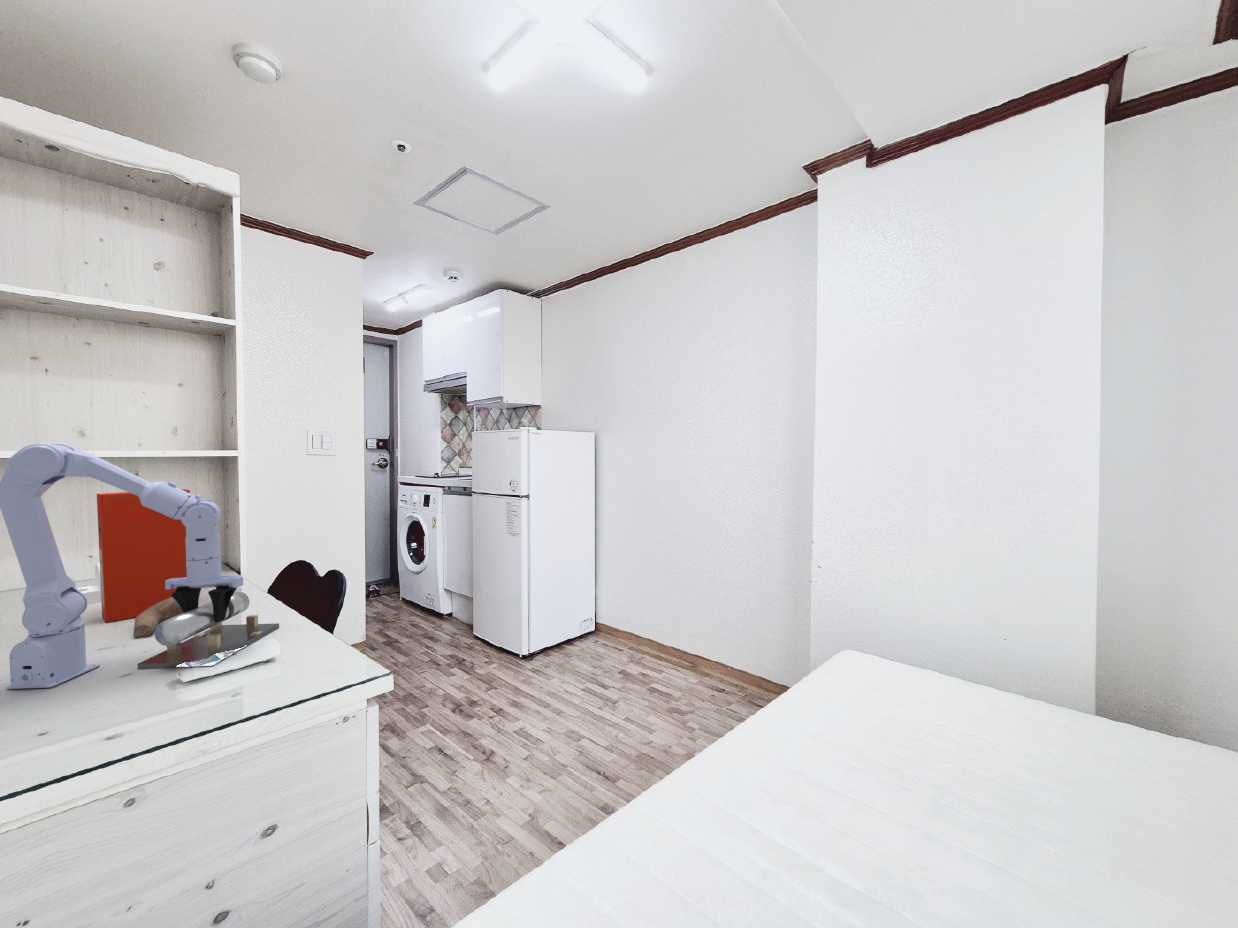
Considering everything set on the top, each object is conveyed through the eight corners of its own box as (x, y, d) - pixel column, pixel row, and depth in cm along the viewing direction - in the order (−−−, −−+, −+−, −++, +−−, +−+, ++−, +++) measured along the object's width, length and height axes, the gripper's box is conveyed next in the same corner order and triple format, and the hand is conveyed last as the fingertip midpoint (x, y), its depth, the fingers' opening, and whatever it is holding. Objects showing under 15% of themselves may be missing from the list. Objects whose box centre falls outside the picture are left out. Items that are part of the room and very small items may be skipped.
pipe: (125, 621, 115) (183, 605, 122) (133, 603, 128) (184, 590, 134) (133, 647, 116) (189, 630, 122) (139, 627, 129) (190, 613, 135)
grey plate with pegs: (212, 666, 102) (211, 643, 101) (137, 668, 101) (136, 646, 101) (279, 627, 124) (278, 608, 123) (218, 629, 123) (217, 610, 123)
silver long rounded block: (181, 645, 100) (181, 617, 100) (154, 646, 99) (154, 618, 99) (249, 612, 120) (249, 589, 120) (227, 612, 119) (226, 589, 119)
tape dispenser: (151, 594, 154) (149, 558, 154) (63, 609, 140) (61, 570, 140) (145, 589, 160) (143, 554, 160) (60, 602, 147) (58, 565, 146)
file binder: (102, 616, 133) (96, 493, 132) (187, 601, 146) (183, 488, 145) (105, 623, 128) (100, 495, 127) (194, 606, 141) (190, 490, 140)
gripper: (251, 553, 113) (253, 613, 114) (182, 554, 113) (185, 616, 113) (229, 560, 106) (231, 624, 107) (155, 561, 106) (158, 627, 106)
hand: (206, 621), depth 109 cm, fingers closed on silver long rounded block, 5 cm apart
